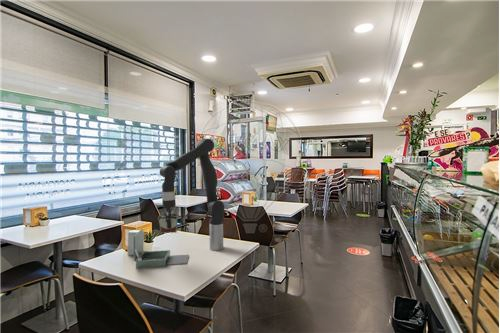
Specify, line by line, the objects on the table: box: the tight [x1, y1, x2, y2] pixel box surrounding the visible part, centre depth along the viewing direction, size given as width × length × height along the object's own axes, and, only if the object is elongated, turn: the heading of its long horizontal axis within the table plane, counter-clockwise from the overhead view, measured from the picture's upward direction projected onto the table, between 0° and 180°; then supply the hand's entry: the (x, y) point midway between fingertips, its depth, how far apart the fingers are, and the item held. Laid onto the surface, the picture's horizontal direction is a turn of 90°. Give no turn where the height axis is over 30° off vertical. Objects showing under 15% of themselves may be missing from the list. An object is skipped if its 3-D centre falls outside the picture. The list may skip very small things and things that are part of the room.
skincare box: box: [127, 229, 145, 256], centre depth 170 cm, size 8×6×15 cm
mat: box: [166, 254, 190, 266], centre depth 158 cm, size 11×14×1 cm
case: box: [133, 228, 171, 269], centre depth 155 cm, size 17×16×18 cm
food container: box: [157, 213, 179, 234], centre depth 158 cm, size 12×6×10 cm, turn 85°
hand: (170, 226), depth 157 cm, fingers closed on food container, 5 cm apart
